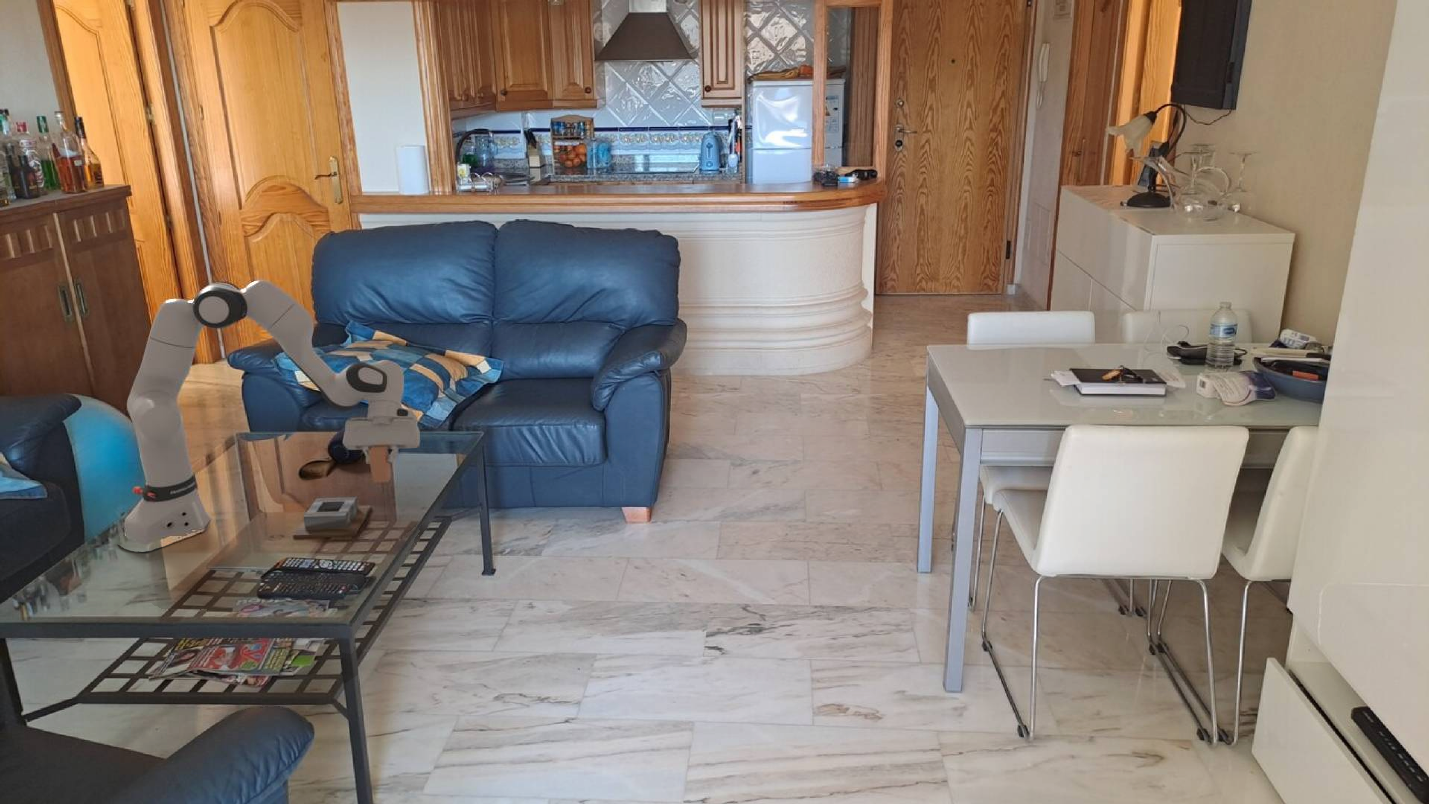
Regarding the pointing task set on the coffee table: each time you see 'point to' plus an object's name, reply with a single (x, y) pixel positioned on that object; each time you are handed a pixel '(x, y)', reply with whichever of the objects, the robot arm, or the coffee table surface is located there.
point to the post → (379, 464)
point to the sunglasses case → (317, 465)
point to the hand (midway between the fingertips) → (379, 462)
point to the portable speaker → (343, 448)
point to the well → (332, 518)
